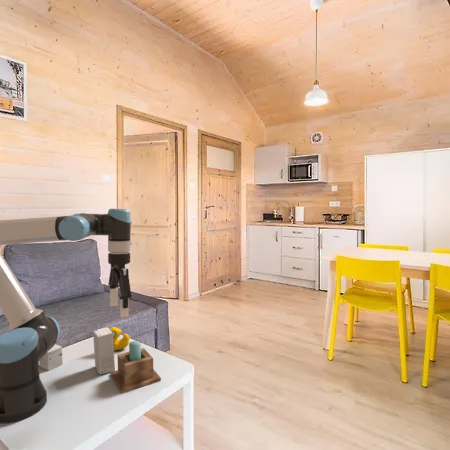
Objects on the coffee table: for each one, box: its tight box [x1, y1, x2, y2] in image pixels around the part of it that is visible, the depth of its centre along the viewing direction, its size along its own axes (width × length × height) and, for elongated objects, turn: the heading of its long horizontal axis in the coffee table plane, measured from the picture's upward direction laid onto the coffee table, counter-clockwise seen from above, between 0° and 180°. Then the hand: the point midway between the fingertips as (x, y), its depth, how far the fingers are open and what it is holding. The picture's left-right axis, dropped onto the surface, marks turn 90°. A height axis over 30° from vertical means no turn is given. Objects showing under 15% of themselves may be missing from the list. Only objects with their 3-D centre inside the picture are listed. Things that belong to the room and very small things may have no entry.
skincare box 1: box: [39, 343, 63, 372], centre depth 128 cm, size 6×6×7 cm
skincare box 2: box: [92, 326, 116, 376], centre depth 126 cm, size 8×6×15 cm
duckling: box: [109, 326, 130, 352], centre depth 142 cm, size 11×5×10 cm, turn 105°
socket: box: [110, 347, 162, 394], centre depth 119 cm, size 14×14×8 cm
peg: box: [128, 340, 142, 362], centre depth 119 cm, size 4×4×12 cm
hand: (118, 311), depth 117 cm, fingers open, 13 cm apart
